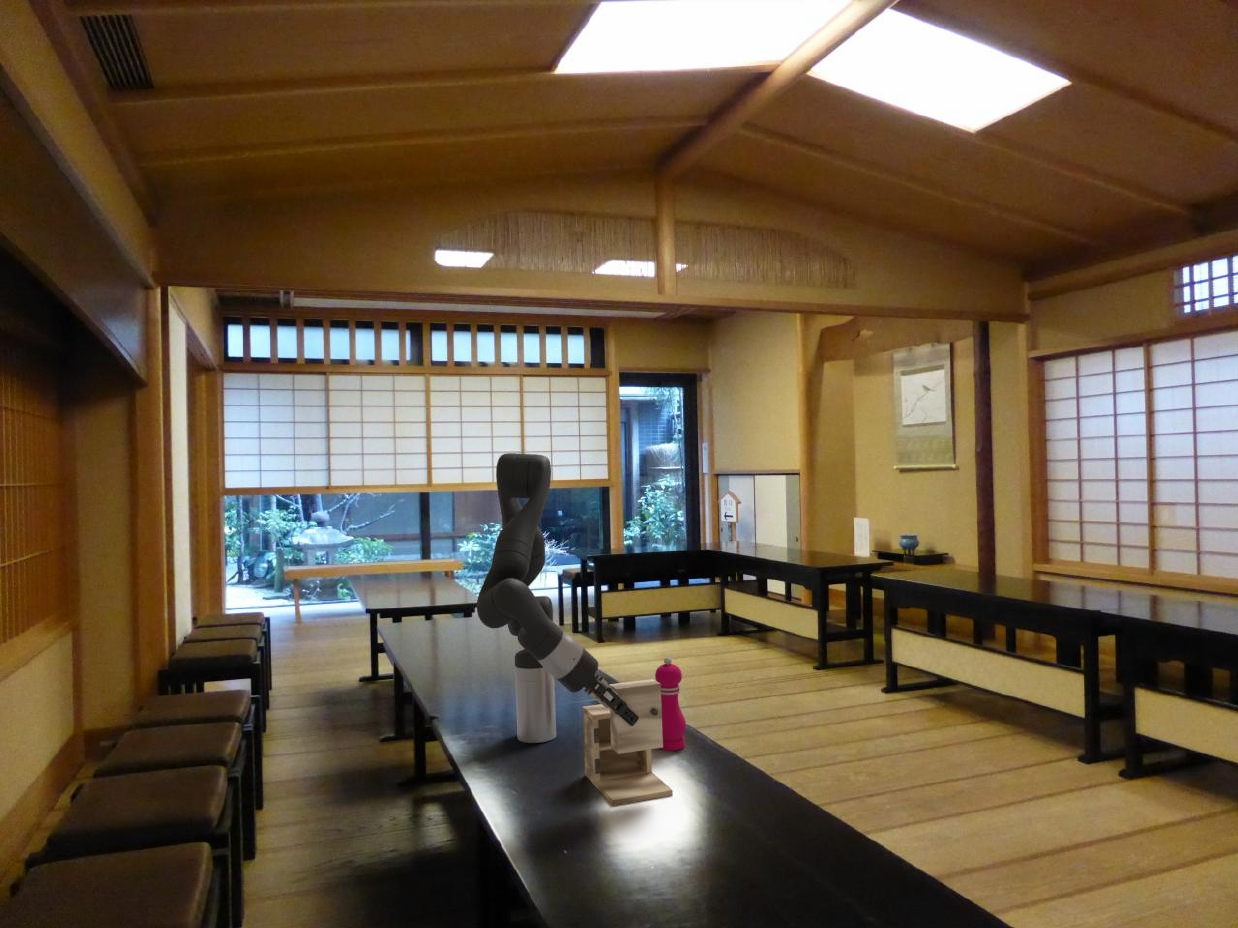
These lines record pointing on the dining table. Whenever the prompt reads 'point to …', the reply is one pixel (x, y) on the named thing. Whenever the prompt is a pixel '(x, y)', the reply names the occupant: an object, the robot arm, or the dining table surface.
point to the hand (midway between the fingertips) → (630, 718)
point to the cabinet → (617, 763)
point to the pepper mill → (671, 706)
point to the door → (647, 707)
